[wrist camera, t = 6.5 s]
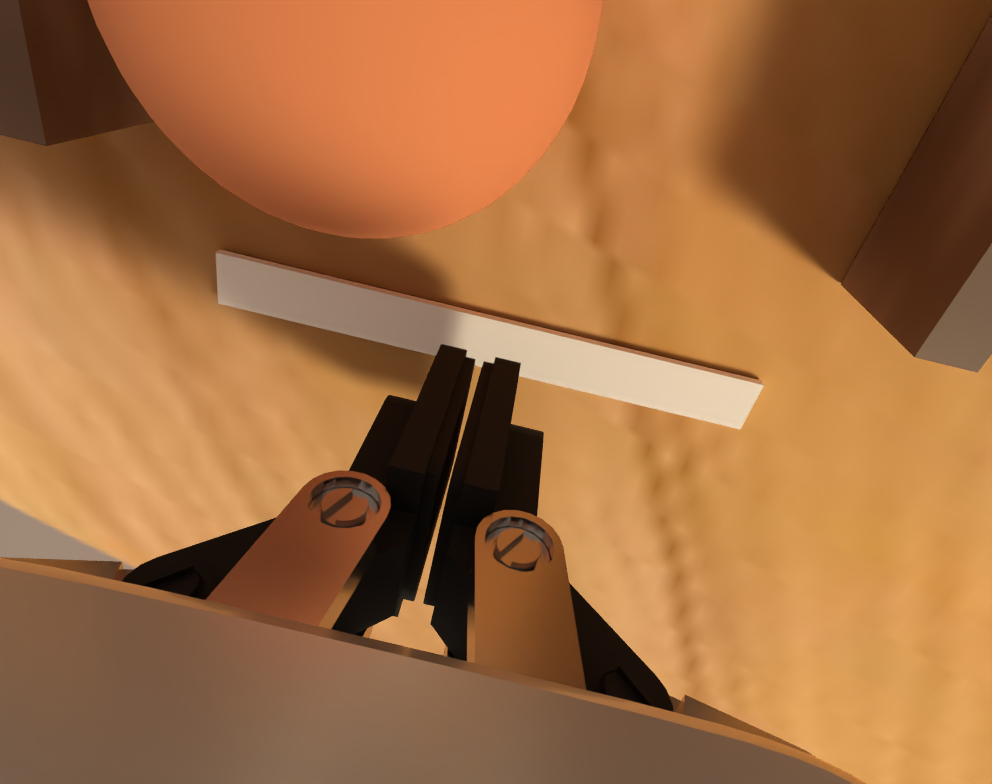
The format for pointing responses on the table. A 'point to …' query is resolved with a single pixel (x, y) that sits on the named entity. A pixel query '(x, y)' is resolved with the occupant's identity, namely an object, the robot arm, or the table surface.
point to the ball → (356, 99)
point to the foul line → (484, 339)
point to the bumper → (870, 280)
